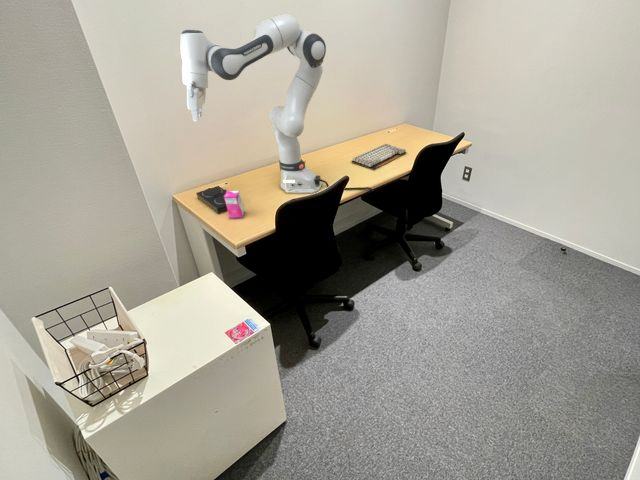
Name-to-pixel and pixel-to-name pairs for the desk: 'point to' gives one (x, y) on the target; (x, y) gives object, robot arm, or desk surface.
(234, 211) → the supplement box
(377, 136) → the desk surface
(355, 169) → the desk surface
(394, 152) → the mechanical keyboard
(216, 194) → the hot plate
